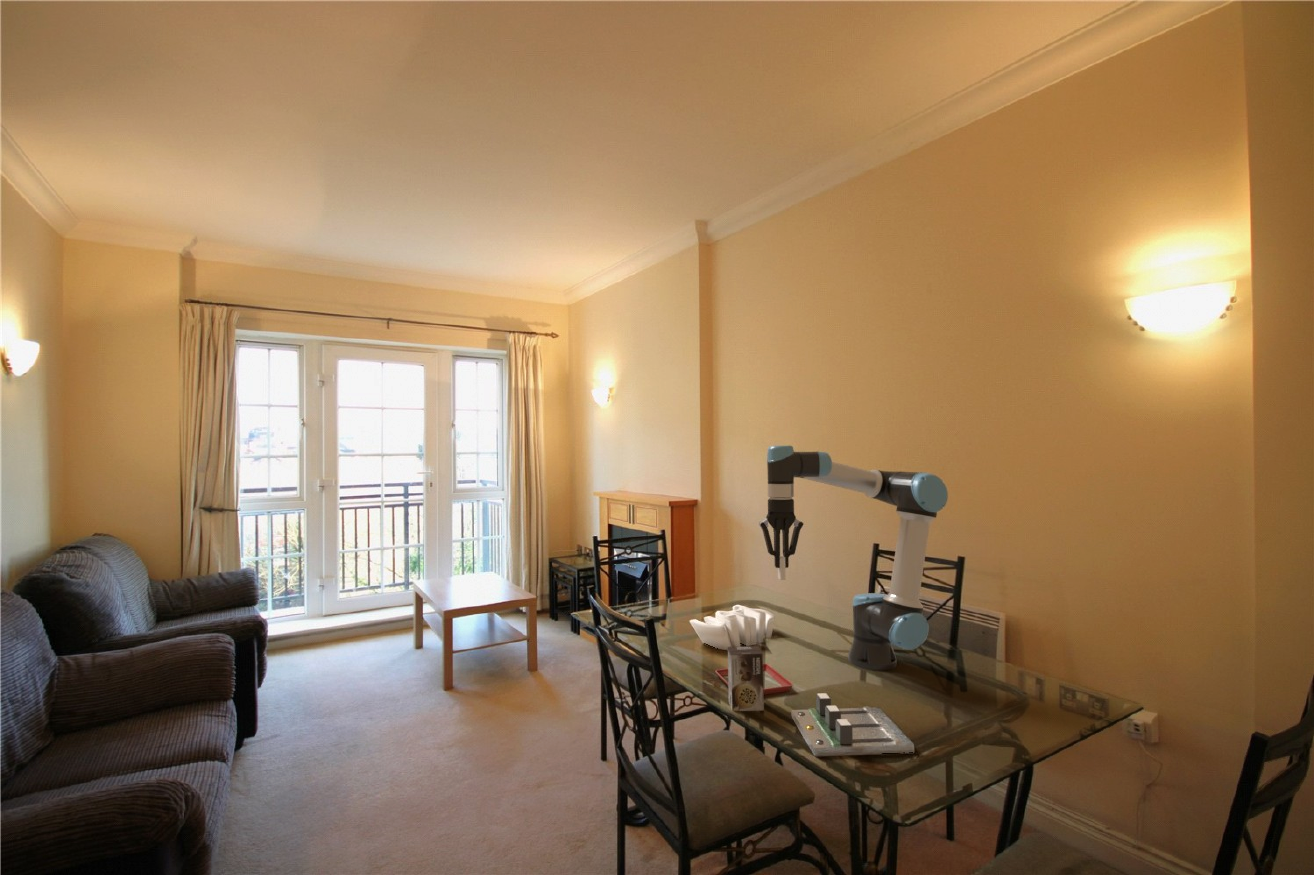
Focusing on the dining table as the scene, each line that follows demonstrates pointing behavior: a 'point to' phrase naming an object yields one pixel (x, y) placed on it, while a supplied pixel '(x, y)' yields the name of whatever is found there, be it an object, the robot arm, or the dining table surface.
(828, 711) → the block
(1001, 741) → the dining table surface
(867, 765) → the dining table surface
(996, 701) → the dining table surface
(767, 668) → the plant saucer
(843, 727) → the block
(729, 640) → the wavy white extrusion
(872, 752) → the slider switch panel
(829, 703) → the breaker
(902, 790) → the dining table surface
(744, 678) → the coffee box
